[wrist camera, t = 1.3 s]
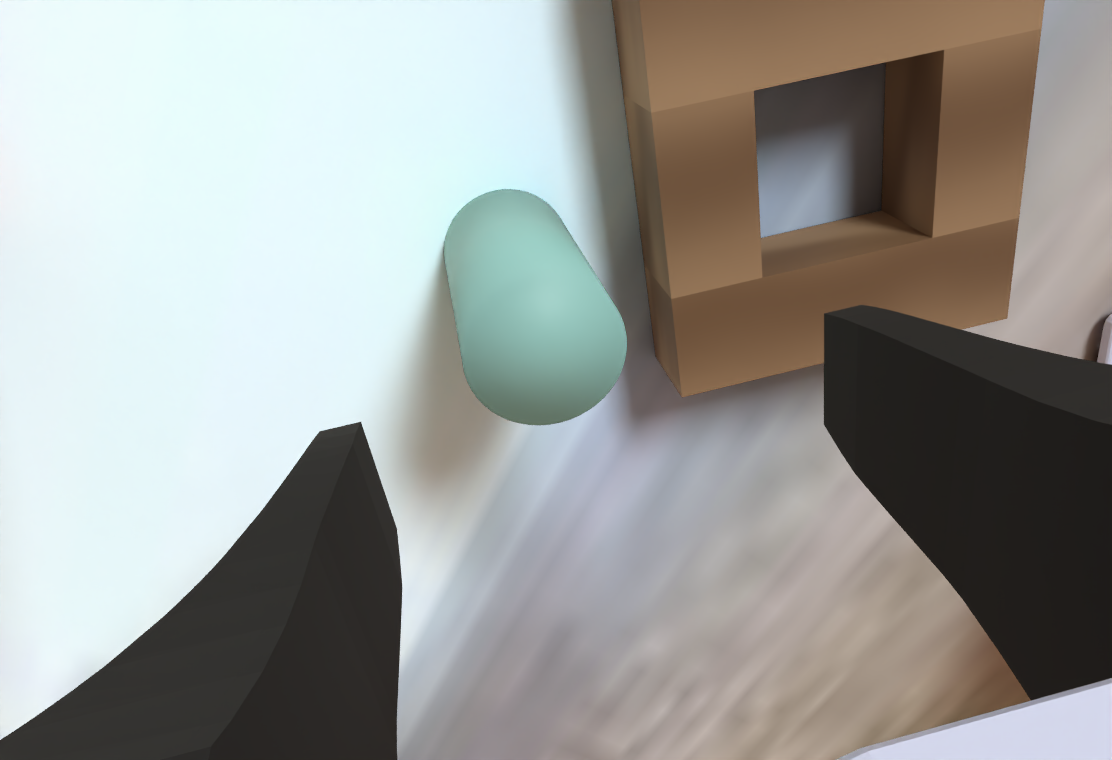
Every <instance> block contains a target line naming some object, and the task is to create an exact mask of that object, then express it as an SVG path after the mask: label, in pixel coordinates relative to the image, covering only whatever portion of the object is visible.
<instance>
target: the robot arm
mask: <svg viewBox="0 0 1112 760" xmlns="http://www.w3.org/2000/svg"><path fill="white" fill-rule="evenodd" d="M824 425H825V427H826V429H827V430H828V432H829V434H830V435H831V437H832V438H833V440H834V442H835V443H836V445H837V447H838V448H839V450H840V452H841V453H842V455H843V456H844V458H845V459H846V461H847V462H848V464H849V465H850V467H851V468H852V470H853V471H854V473H855V474H856V475H857V476H858V478H859V479H860V480H861V481H862V482H863V484H864V485H865V486H866V487H867V488H868V489H869V491H870V492H871V493H872V494H873V495H874V496H875V498H876V499H877V500H878V501H879V502H880V503H881V505H882V506H883V507H884V508H885V509H886V510H887V511H888V513H889V514H890V515H891V516H892V517H893V518H894V519H895V521H896V522H897V523H898V524H899V525H900V526H901V527H902V529H903V530H904V531H905V532H906V533H907V534H908V535H909V536H910V538H911V539H912V540H913V541H914V542H915V543H916V544H917V546H918V547H919V548H920V549H921V550H922V551H923V552H924V554H925V555H926V556H927V557H928V558H929V559H930V560H931V562H932V563H933V564H934V565H935V566H936V567H937V568H938V569H939V571H940V572H941V573H942V574H943V575H944V576H945V578H946V579H947V580H948V581H949V583H950V584H951V585H952V586H953V588H954V589H955V590H956V591H957V593H958V594H959V595H960V596H961V598H962V599H963V600H964V602H965V603H966V605H967V606H968V608H969V609H970V610H971V612H972V613H973V615H974V616H975V618H976V619H977V620H978V622H979V623H980V625H981V626H982V628H983V629H984V630H985V632H986V633H987V635H988V636H989V638H990V639H991V641H992V642H993V643H994V645H995V646H996V648H997V649H998V651H999V652H1000V654H1001V655H1002V657H1003V658H1004V660H1005V661H1006V663H1007V664H1008V666H1009V667H1010V669H1011V670H1012V672H1013V673H1014V675H1015V676H1016V678H1017V679H1018V681H1019V683H1020V684H1021V686H1022V687H1023V689H1024V690H1025V692H1026V693H1027V695H1028V696H1029V698H1030V699H1031V701H1028V702H1024V703H1021V704H1017V705H1014V706H1010V707H1006V708H1003V709H999V710H996V711H992V712H989V713H985V714H981V715H978V716H974V717H971V718H967V719H963V720H960V721H956V722H953V723H949V724H945V725H942V726H938V727H935V728H931V729H928V730H924V731H920V732H917V733H913V734H910V735H906V736H902V737H899V738H895V739H892V740H888V741H885V742H881V743H877V744H874V745H870V746H867V747H863V748H860V749H858V750H856V751H853V752H851V753H849V754H847V755H845V756H842V757H840V758H838V759H836V760H1112V314H1110V315H1109V317H1108V318H1107V319H1106V321H1105V324H1104V327H1103V332H1102V338H1101V343H1100V349H1099V354H1098V359H1097V362H1093V361H1088V360H1082V359H1077V358H1072V357H1067V356H1063V355H1059V354H1054V353H1050V352H1046V351H1041V350H1037V349H1033V348H1028V347H1024V346H1020V345H1016V344H1012V343H1008V342H1004V341H1000V340H996V339H993V338H989V337H985V336H982V335H978V334H974V333H971V332H967V331H964V330H960V329H957V328H953V327H950V326H946V325H943V324H939V323H935V322H932V321H928V320H925V319H921V318H918V317H914V316H911V315H907V314H903V313H899V312H895V311H892V310H887V309H883V308H878V307H873V306H867V305H858V306H854V307H850V308H845V309H841V310H837V311H832V312H828V313H824ZM401 608H402V578H401V566H400V555H399V545H398V536H397V528H396V525H395V522H394V519H393V516H392V513H391V510H390V507H389V504H388V501H387V498H386V495H385V492H384V489H383V486H382V484H381V481H380V478H379V475H378V472H377V469H376V466H375V463H374V460H373V457H372V454H371V451H370V448H369V445H368V442H367V439H366V436H365V433H364V430H363V427H362V424H361V422H358V423H354V424H350V425H345V426H341V427H337V428H333V429H328V430H324V431H320V432H319V433H318V434H317V436H316V437H315V438H314V440H313V441H312V442H311V444H310V445H309V446H308V448H307V449H306V451H305V452H304V454H303V455H302V456H301V458H300V459H299V461H298V462H297V463H296V465H295V466H294V468H293V469H292V471H291V472H290V473H289V475H288V476H287V477H286V479H285V480H284V482H283V483H282V484H281V486H280V487H279V488H278V490H277V491H276V492H275V494H274V495H273V496H272V498H271V499H270V500H269V502H268V503H267V504H266V506H265V507H264V508H263V510H262V511H261V512H260V513H259V515H258V516H257V517H256V518H255V519H254V521H253V522H252V523H251V524H250V525H249V527H248V528H247V529H246V530H245V531H244V533H243V534H242V535H241V536H240V537H239V539H238V540H237V541H236V542H235V543H234V545H233V546H232V547H231V548H230V549H229V551H228V552H227V553H226V554H225V555H224V557H223V558H222V559H221V560H220V561H219V562H218V563H217V564H216V565H215V566H214V568H213V569H212V570H211V571H210V572H209V573H208V574H207V575H206V576H205V577H204V578H203V579H202V580H201V581H200V582H199V583H198V584H197V585H196V586H195V587H194V588H193V589H192V590H191V591H190V592H189V593H188V594H187V595H186V596H185V597H184V598H183V599H182V600H181V601H180V602H179V603H178V604H177V605H176V606H175V607H174V608H172V609H171V610H170V611H169V612H168V613H167V614H166V615H165V616H164V617H163V618H161V619H160V620H159V621H158V622H157V623H156V624H154V625H153V626H152V627H151V628H150V629H148V630H147V631H146V632H145V633H144V634H143V635H141V636H140V637H139V638H138V639H137V640H135V641H134V642H133V643H132V644H131V645H130V646H128V647H127V648H126V649H125V650H124V651H122V652H121V653H120V654H119V655H118V656H117V657H115V658H114V659H113V660H112V661H111V662H109V663H108V664H107V665H106V666H104V667H103V668H102V669H100V670H99V671H98V672H97V673H95V674H94V675H93V676H91V677H90V678H89V679H87V680H86V681H85V682H83V683H82V684H81V685H79V686H78V687H77V688H75V689H74V690H73V691H71V692H70V693H68V694H67V695H66V696H64V697H63V698H61V699H60V700H59V701H57V702H56V703H54V704H53V705H51V706H50V707H49V708H47V709H46V710H44V711H43V712H42V713H40V714H39V715H37V716H36V717H34V718H33V719H32V720H30V721H29V722H27V723H26V724H24V725H23V726H21V727H20V728H18V729H17V730H15V731H14V732H12V733H11V734H9V735H8V736H6V737H4V738H3V739H1V740H0V760H397V699H398V677H399V655H400V633H401Z"/></svg>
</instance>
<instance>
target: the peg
mask: <svg viewBox="0 0 1112 760" xmlns="http://www.w3.org/2000/svg"><path fill="white" fill-rule="evenodd" d="M444 259H445V265H446V271H447V276H448V282H449V288H450V294H451V299H452V305H453V311H454V317H455V323H456V328H457V334H458V340H459V346H460V352H461V357H462V363H463V369H464V373H465V376H466V379H467V382H468V384H469V386H470V388H471V390H472V391H473V393H474V394H475V396H476V397H477V398H478V399H479V401H480V402H481V403H482V404H483V405H484V406H486V407H487V408H488V409H489V410H491V411H492V412H494V413H495V414H497V415H499V416H500V417H503V418H505V419H507V420H510V421H513V422H517V423H521V424H527V425H549V424H555V423H560V422H563V421H567V420H570V419H572V418H575V417H577V416H579V415H581V414H583V413H584V412H586V411H588V410H589V409H591V408H592V407H594V406H595V405H596V404H597V403H599V402H600V401H601V400H602V399H603V398H604V397H605V396H606V395H607V394H608V392H609V391H610V390H611V389H612V387H613V386H614V384H615V383H616V381H617V379H618V377H619V375H620V373H621V371H622V368H623V365H624V362H625V357H626V351H627V337H626V330H625V326H624V323H623V320H622V317H621V315H620V313H619V312H618V310H617V308H616V306H615V305H614V303H613V301H612V300H611V298H610V297H609V295H608V293H607V292H606V290H605V289H604V287H603V285H602V284H601V282H600V281H599V279H598V277H597V276H596V274H595V273H594V271H593V269H592V268H591V266H590V265H589V263H588V262H587V260H586V258H585V257H584V255H583V254H582V252H581V250H580V249H579V247H578V246H577V244H576V242H575V241H574V239H573V238H572V236H571V234H570V233H569V231H568V230H567V228H566V226H565V225H564V223H563V222H562V220H561V218H560V217H559V215H558V214H557V213H556V211H555V210H554V209H553V208H552V207H551V206H550V205H549V204H548V203H547V202H545V201H544V200H543V199H541V198H539V197H537V196H536V195H533V194H531V193H528V192H525V191H520V190H513V189H502V190H496V191H492V192H488V193H485V194H483V195H481V196H478V197H477V198H475V199H473V200H472V201H470V202H469V203H468V204H466V205H465V206H464V207H463V208H462V209H461V210H460V211H459V212H458V213H457V215H456V216H455V218H454V219H453V221H452V223H451V224H450V226H449V229H448V231H447V234H446V238H445V244H444Z"/></svg>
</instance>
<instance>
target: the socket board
mask: <svg viewBox="0 0 1112 760" xmlns="http://www.w3.org/2000/svg"><path fill="white" fill-rule="evenodd" d="M1044 2H1045V0H612V6H613V15H614V23H615V31H616V39H617V47H618V55H619V63H620V72H621V80H622V88H623V96H624V104H625V112H626V120H627V129H628V137H629V145H630V153H631V161H632V169H633V177H634V185H635V194H636V202H637V210H638V218H639V226H640V234H641V242H642V251H643V259H644V267H645V275H646V283H647V291H648V299H649V308H650V316H651V324H652V332H653V340H654V348H655V356H656V358H657V360H658V361H659V363H660V364H661V366H662V367H663V369H664V370H665V372H666V374H667V375H668V377H669V378H670V380H671V381H672V383H673V384H674V386H675V388H676V389H677V391H678V392H679V394H680V395H681V397H686V396H690V395H694V394H698V393H702V392H706V391H711V390H715V389H719V388H723V387H727V386H731V385H735V384H739V383H743V382H748V381H752V380H756V379H760V378H764V377H768V376H772V375H776V374H780V373H785V372H789V371H793V370H797V369H801V368H805V367H809V366H813V365H818V364H822V363H824V313H828V312H832V311H837V310H841V309H845V308H850V307H854V306H858V305H867V306H873V307H878V308H883V309H887V310H892V311H895V312H899V313H903V314H907V315H911V316H914V317H918V318H921V319H925V320H928V321H932V322H935V323H939V324H943V325H946V326H950V327H953V328H957V329H960V330H961V329H966V328H970V327H974V326H978V325H982V324H986V323H990V322H994V321H998V320H1003V319H1007V316H1008V307H1009V299H1010V290H1011V282H1012V273H1013V265H1014V256H1015V248H1016V239H1017V231H1018V222H1019V214H1020V206H1021V197H1022V189H1023V180H1024V172H1025V163H1026V155H1027V146H1028V138H1029V129H1030V121H1031V112H1032V104H1033V95H1034V87H1035V78H1036V70H1037V61H1038V53H1039V44H1040V36H1041V27H1042V19H1043V10H1044ZM884 62H886V74H885V107H884V139H883V172H882V205H881V211H877V212H873V213H868V214H864V215H859V216H855V217H851V218H846V219H842V220H838V221H833V222H829V223H825V224H820V225H816V226H812V227H807V228H803V229H799V230H794V231H790V232H785V233H781V234H777V235H772V236H768V237H764V238H761V236H760V214H759V193H758V171H757V149H756V128H755V106H754V91H755V90H759V89H764V88H769V87H773V86H778V85H782V84H787V83H792V82H796V81H801V80H806V79H810V78H815V77H820V76H824V75H829V74H833V73H838V72H843V71H847V70H852V69H857V68H861V67H866V66H871V65H875V64H880V63H884Z"/></svg>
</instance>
